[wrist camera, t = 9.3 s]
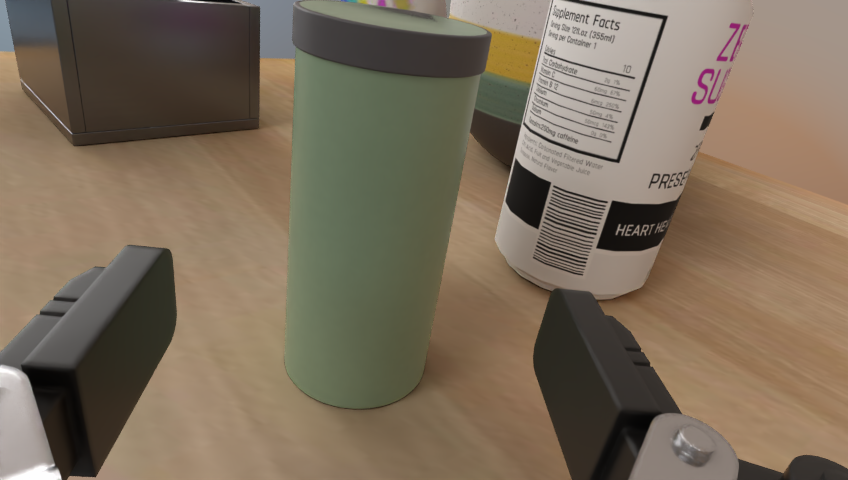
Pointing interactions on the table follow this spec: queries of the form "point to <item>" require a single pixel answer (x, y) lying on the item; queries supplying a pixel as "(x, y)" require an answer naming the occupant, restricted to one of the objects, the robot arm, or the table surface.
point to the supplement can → (613, 136)
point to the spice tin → (373, 192)
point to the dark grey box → (139, 66)
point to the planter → (504, 67)
